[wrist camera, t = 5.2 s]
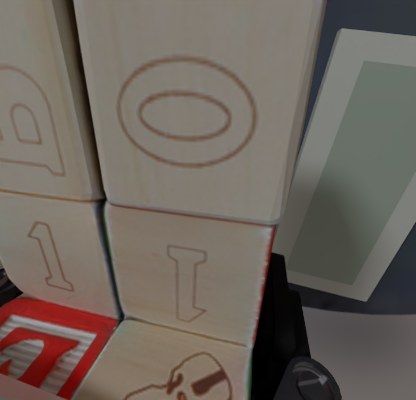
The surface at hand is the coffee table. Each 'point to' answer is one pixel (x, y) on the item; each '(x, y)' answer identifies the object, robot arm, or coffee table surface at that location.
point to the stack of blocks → (145, 188)
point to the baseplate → (354, 168)
